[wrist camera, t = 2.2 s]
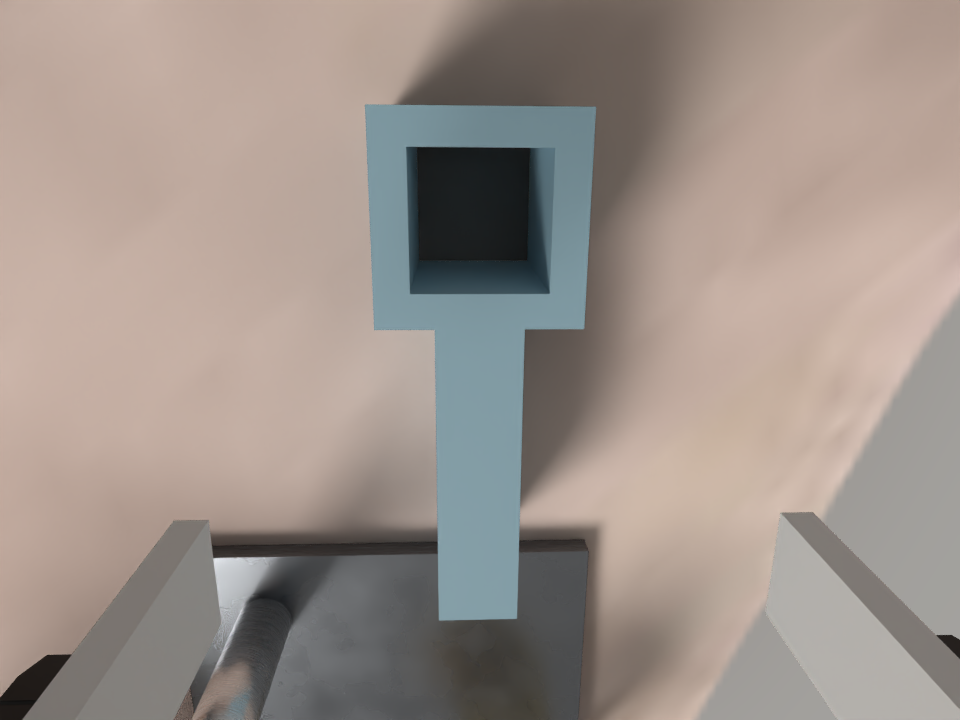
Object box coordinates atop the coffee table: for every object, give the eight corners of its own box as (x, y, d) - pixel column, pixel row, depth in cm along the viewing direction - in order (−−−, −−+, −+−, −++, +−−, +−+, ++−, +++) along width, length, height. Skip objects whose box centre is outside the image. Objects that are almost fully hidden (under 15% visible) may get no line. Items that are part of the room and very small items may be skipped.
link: (386, 115, 27) (365, 104, 20) (560, 116, 27) (596, 107, 21) (399, 524, 33) (386, 621, 26) (544, 522, 33) (568, 617, 26)
